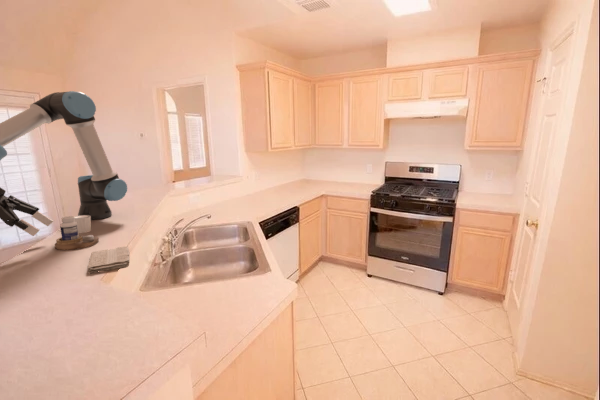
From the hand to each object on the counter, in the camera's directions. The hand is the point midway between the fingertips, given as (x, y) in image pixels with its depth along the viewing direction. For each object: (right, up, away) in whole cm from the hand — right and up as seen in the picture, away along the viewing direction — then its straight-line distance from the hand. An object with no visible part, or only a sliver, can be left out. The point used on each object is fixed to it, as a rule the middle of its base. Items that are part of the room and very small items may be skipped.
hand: (44, 228), depth 111 cm
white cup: (-1, -4, +21) cm, 21 cm away
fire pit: (+10, -7, +5) cm, 13 cm away
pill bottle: (+7, -6, +5) cm, 10 cm away
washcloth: (+33, -11, -11) cm, 37 cm away
